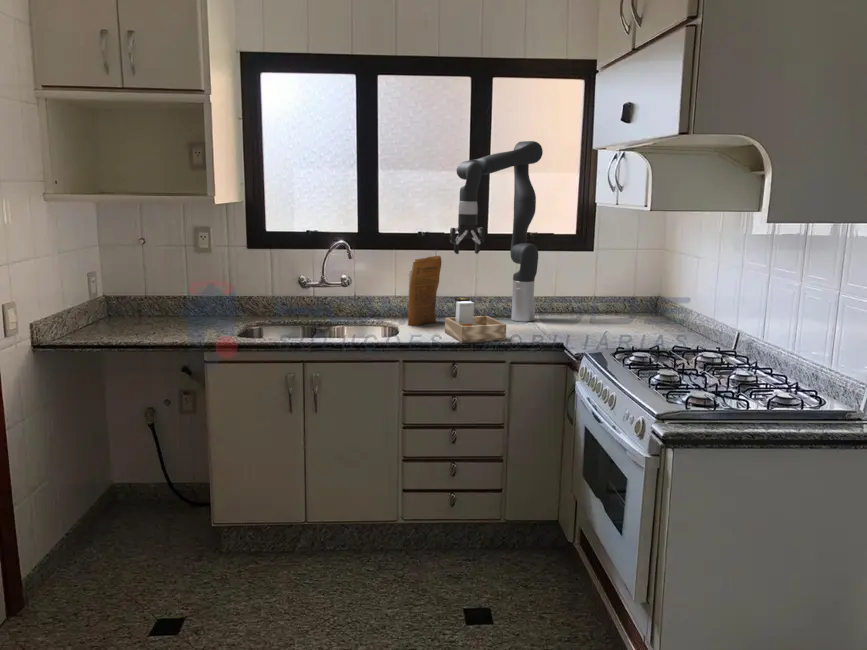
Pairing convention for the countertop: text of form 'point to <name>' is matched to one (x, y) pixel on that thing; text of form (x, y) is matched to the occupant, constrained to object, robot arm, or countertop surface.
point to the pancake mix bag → (423, 290)
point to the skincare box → (464, 313)
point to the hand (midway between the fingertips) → (466, 253)
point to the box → (476, 330)
